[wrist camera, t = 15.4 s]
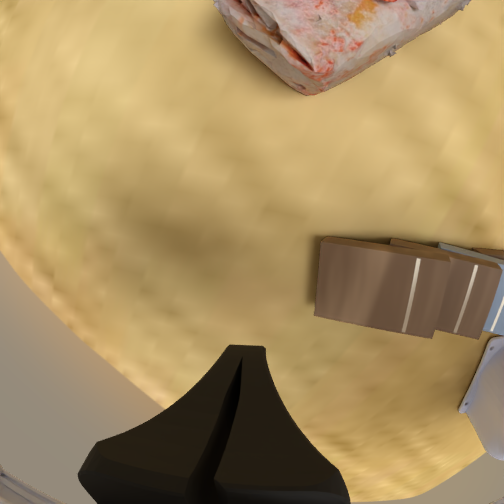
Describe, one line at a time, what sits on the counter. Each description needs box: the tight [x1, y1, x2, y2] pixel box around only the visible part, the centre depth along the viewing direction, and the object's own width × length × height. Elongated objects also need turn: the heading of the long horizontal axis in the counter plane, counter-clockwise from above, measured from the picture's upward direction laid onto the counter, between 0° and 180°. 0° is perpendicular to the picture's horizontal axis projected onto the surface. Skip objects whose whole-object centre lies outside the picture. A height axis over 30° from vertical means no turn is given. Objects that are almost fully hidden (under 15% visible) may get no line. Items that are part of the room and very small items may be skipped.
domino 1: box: [314, 236, 451, 339], centre depth 18 cm, size 2×5×8 cm
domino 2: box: [390, 238, 503, 339], centre depth 18 cm, size 2×5×8 cm
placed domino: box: [438, 242, 504, 336], centre depth 18 cm, size 2×5×8 cm
